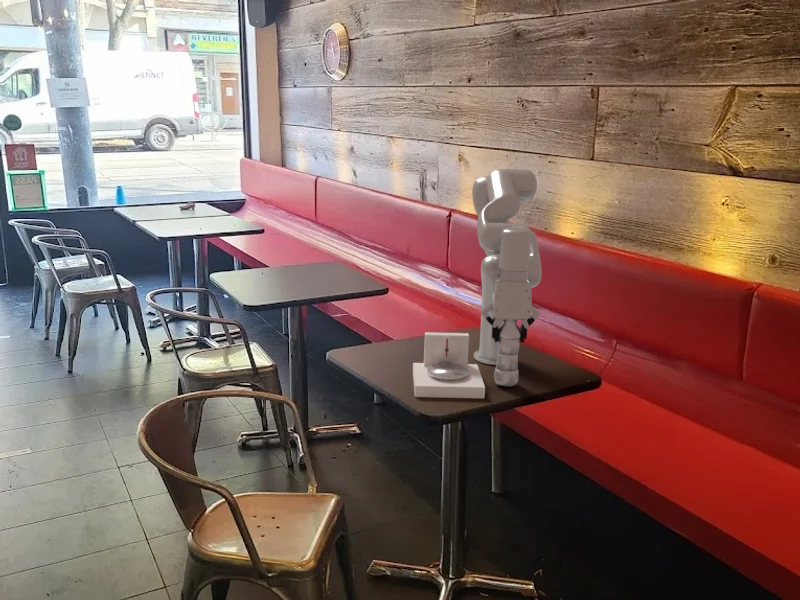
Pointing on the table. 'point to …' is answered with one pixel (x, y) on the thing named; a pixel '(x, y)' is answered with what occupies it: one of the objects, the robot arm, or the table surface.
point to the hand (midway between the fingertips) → (508, 340)
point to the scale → (447, 351)
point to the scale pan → (447, 371)
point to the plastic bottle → (507, 353)
